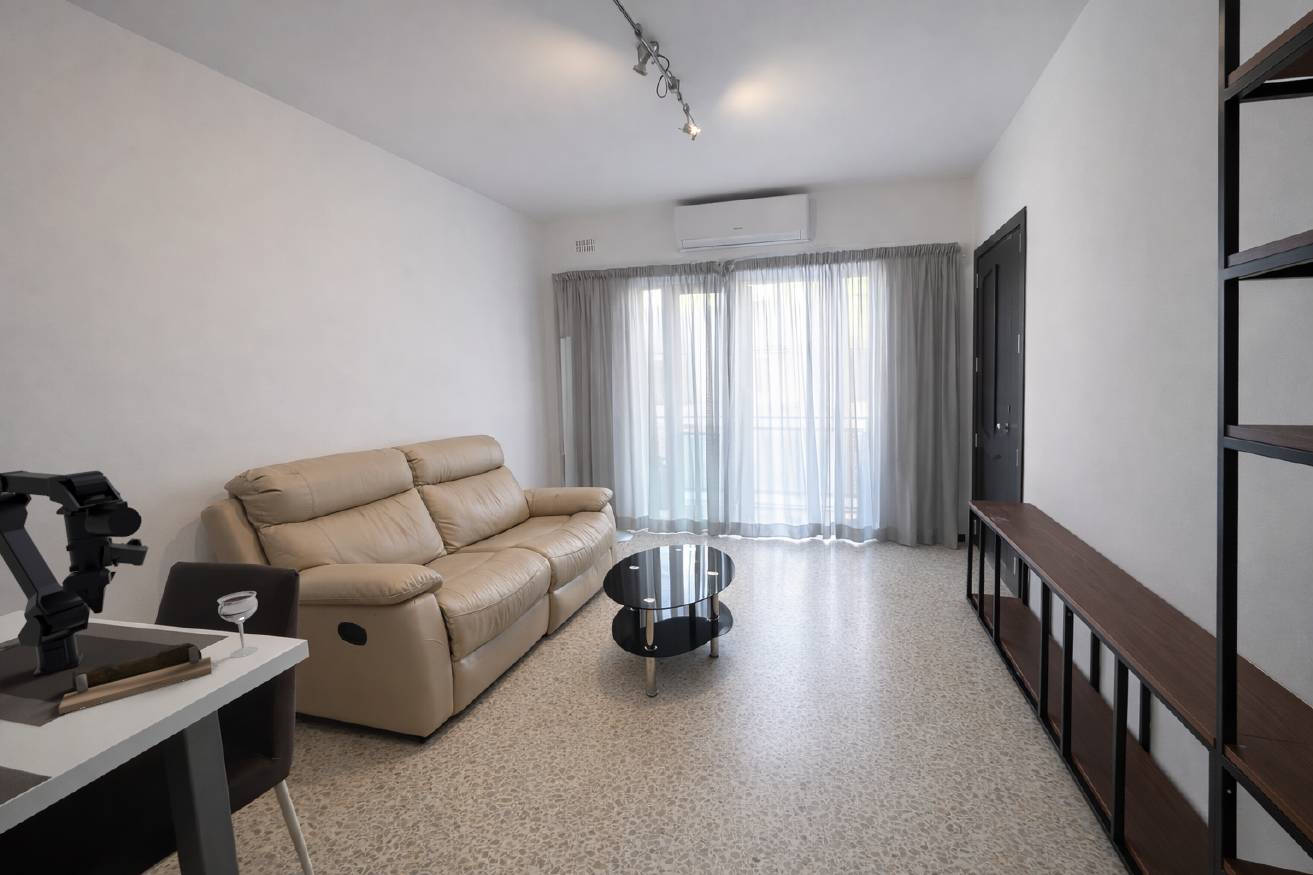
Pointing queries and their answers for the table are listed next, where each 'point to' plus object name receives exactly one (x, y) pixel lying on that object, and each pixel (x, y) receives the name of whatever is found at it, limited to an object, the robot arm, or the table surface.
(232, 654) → the wineglass
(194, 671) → the tool rack
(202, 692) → the table surface
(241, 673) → the table surface
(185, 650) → the hand tool
